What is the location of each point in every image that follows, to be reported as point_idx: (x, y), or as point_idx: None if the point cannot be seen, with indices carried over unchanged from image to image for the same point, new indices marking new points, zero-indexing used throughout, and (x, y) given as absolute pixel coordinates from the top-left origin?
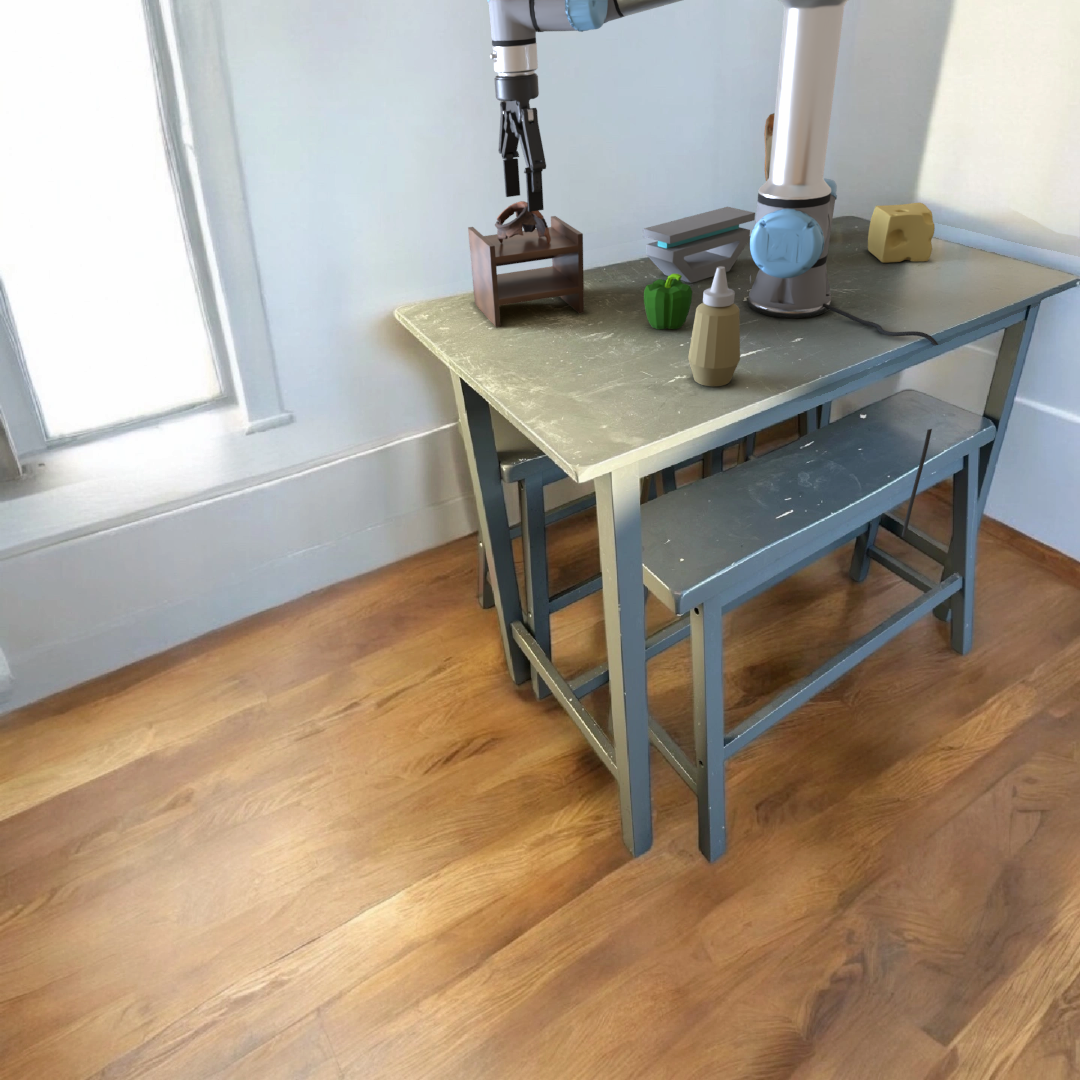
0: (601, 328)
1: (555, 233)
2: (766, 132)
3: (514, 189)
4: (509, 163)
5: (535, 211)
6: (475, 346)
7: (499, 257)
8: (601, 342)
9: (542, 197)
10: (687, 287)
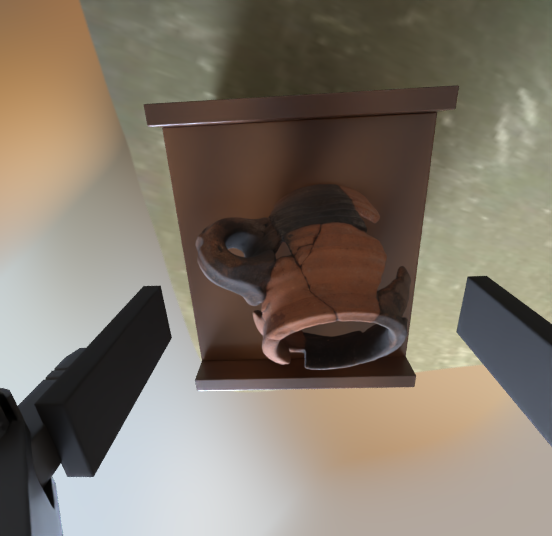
0: (480, 104)
1: (254, 139)
2: None
3: (154, 322)
4: (96, 432)
5: (370, 270)
6: (427, 333)
7: (405, 346)
8: (548, 133)
9: (520, 303)
10: None
